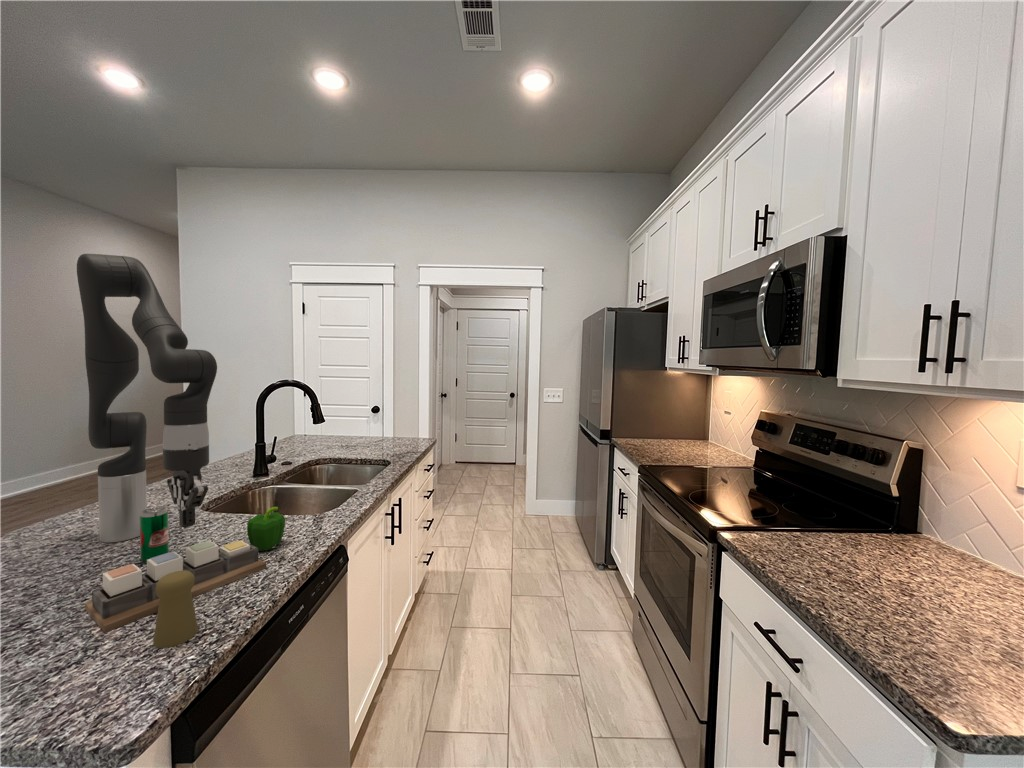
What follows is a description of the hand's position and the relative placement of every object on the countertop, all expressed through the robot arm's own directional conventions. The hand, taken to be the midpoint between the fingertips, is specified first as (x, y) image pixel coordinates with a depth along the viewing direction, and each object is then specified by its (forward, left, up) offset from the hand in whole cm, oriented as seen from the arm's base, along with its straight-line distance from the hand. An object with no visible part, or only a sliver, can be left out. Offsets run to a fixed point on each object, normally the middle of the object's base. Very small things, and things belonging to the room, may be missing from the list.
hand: (187, 525), depth 84 cm
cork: (+17, -8, -13) cm, 23 cm away
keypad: (0, -1, -13) cm, 13 cm away
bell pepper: (-5, +18, -13) cm, 23 cm away
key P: (0, +9, -11) cm, 14 cm away
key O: (0, -10, -9) cm, 13 cm away
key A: (0, +3, -9) cm, 9 cm away
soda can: (-20, 0, -13) cm, 24 cm away
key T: (0, -4, -9) cm, 9 cm away
